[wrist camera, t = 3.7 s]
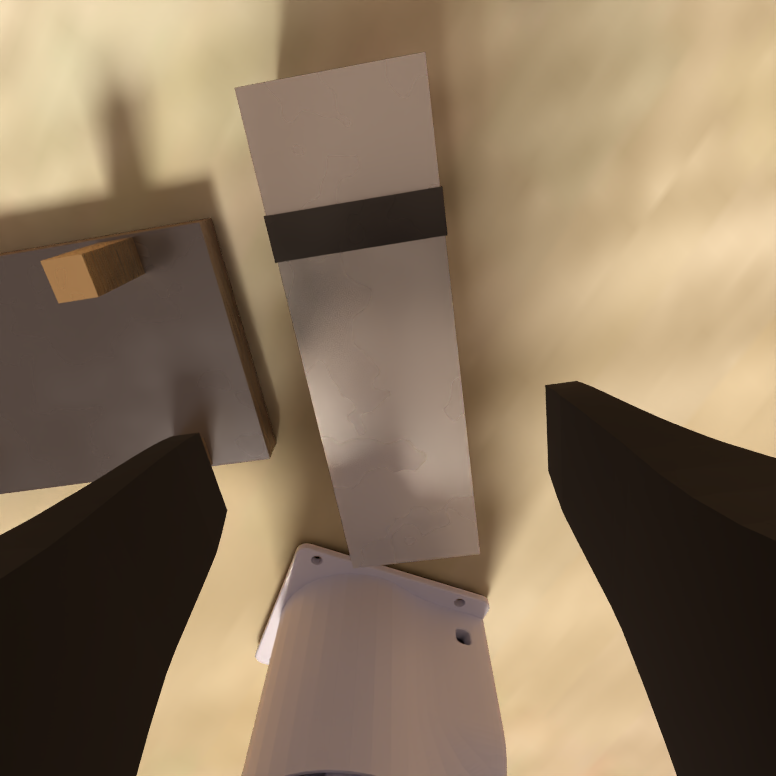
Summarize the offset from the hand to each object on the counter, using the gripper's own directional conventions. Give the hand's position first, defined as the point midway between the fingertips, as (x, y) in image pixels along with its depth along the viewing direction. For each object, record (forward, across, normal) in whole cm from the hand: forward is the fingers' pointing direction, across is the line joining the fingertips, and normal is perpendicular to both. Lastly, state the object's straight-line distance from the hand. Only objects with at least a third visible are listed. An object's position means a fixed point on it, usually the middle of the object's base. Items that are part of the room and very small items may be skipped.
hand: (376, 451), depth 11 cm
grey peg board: (+9, +14, 0) cm, 17 cm away
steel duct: (+9, 0, 0) cm, 9 cm away
